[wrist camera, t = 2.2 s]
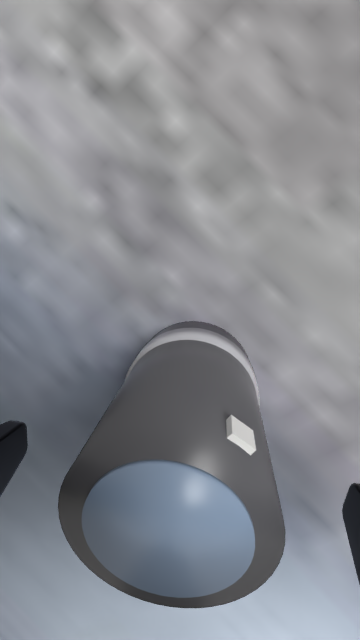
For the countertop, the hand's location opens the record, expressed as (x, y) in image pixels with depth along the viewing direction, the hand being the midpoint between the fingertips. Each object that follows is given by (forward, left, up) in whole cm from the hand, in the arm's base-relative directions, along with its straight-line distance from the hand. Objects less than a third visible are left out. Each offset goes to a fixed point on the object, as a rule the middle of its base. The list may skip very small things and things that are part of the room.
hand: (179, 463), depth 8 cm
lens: (0, 0, -5) cm, 5 cm away
